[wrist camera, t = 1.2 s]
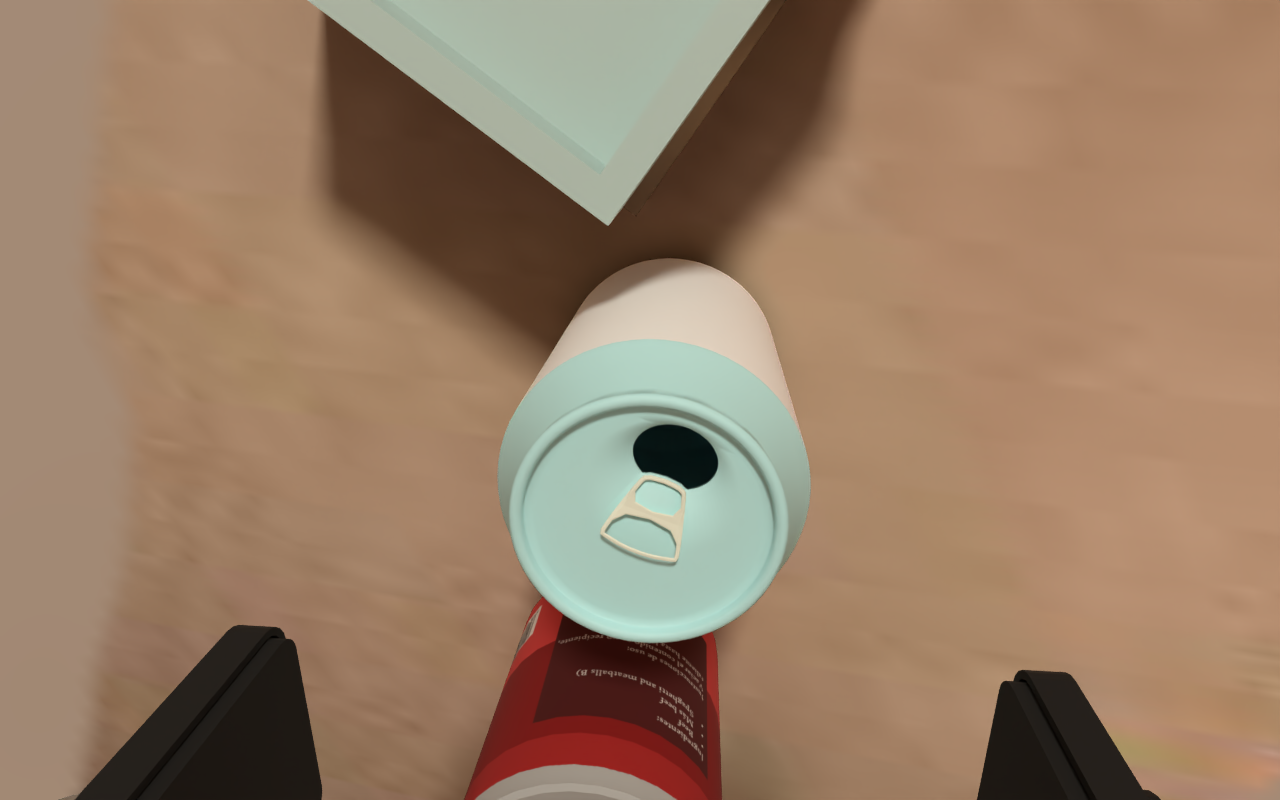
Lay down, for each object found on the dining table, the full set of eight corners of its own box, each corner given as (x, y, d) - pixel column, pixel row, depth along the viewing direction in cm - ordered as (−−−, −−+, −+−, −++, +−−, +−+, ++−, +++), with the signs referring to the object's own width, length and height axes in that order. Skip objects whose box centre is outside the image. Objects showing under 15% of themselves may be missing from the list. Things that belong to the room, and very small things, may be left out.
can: (541, 286, 27) (426, 414, 16) (745, 229, 26) (777, 324, 15) (603, 469, 29) (540, 696, 18) (793, 424, 28) (853, 636, 17)
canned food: (566, 738, 34) (506, 1016, 23) (496, 581, 31) (394, 814, 21) (742, 700, 32) (760, 978, 22) (683, 533, 30) (672, 758, 20)
